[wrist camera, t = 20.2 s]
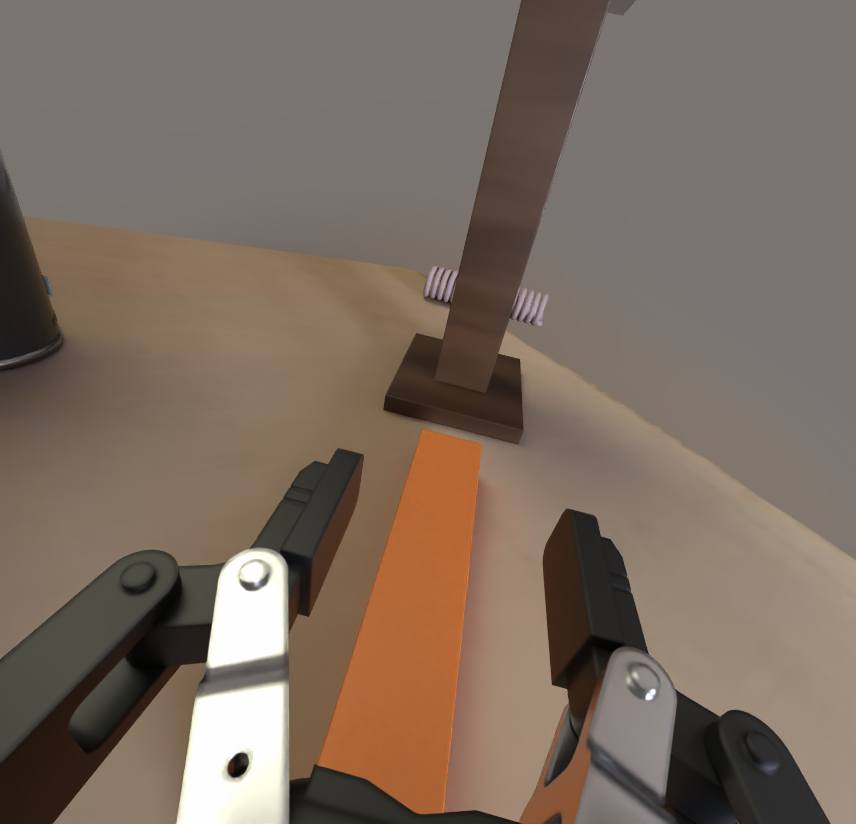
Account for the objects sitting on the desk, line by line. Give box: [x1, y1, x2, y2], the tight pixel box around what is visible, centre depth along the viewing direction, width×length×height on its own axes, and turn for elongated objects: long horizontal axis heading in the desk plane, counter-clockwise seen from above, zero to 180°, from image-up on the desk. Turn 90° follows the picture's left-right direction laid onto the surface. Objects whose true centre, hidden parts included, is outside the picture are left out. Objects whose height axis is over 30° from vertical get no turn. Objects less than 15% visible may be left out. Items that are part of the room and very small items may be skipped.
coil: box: [423, 265, 548, 326], centre depth 61 cm, size 5×5×18 cm
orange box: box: [317, 429, 482, 814], centre depth 21 cm, size 25×4×3 cm, turn 170°
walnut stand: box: [383, 0, 636, 444], centre depth 33 cm, size 19×12×32 cm, turn 170°
